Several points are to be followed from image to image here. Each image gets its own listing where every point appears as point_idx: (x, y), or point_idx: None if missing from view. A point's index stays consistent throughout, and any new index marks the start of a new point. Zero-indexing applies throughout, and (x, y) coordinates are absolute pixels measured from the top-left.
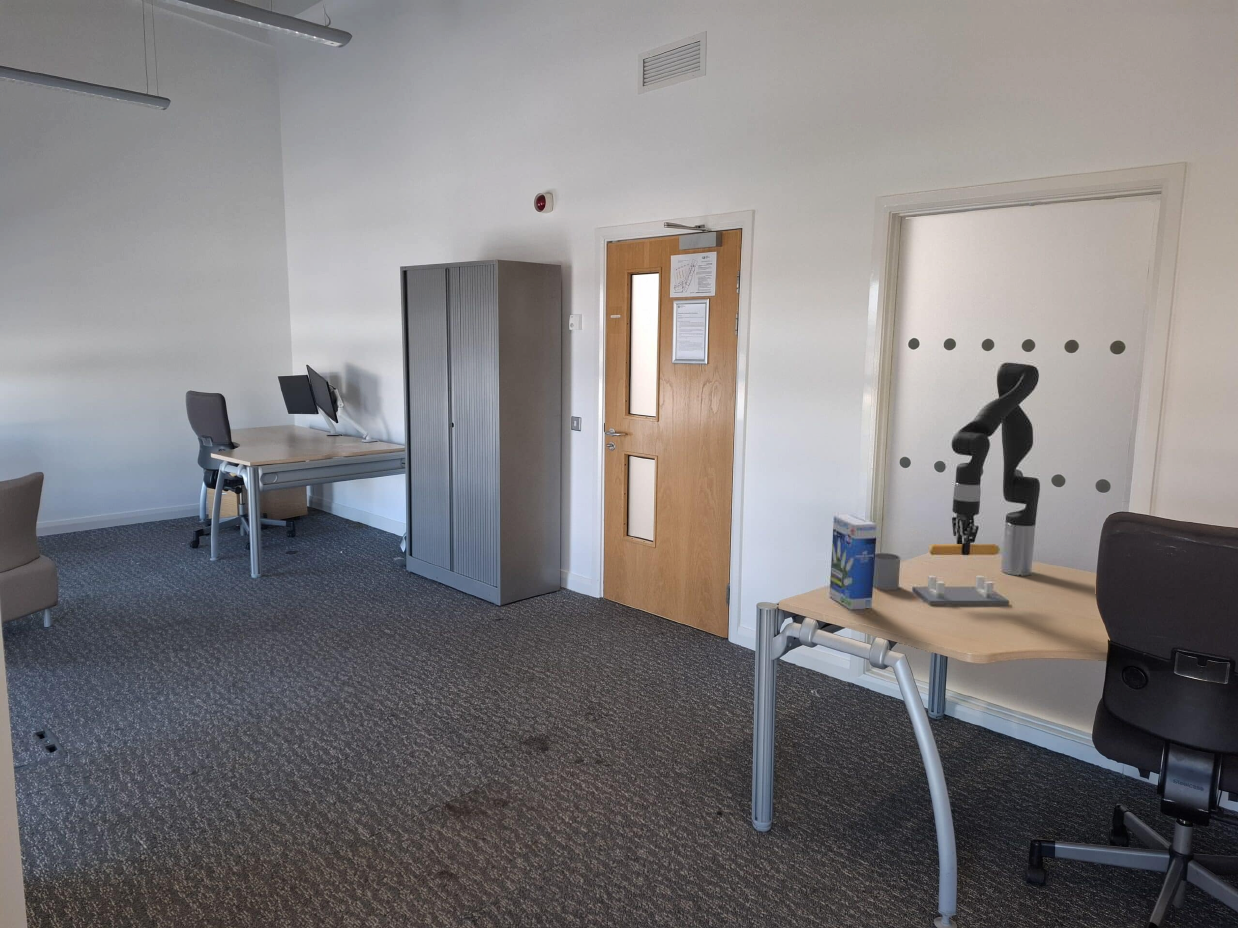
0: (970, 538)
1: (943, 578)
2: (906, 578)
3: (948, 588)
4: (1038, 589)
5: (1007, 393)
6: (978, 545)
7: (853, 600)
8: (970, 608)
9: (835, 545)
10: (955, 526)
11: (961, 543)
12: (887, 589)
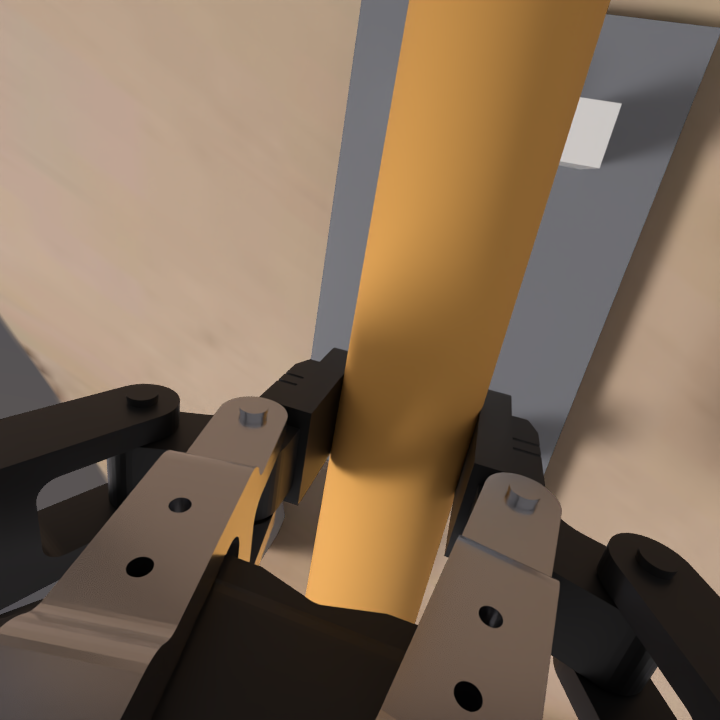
0: (545, 567)
1: (117, 139)
2: (123, 338)
3: (356, 295)
4: None
5: None
6: (476, 254)
7: None
8: (647, 348)
9: None
10: (13, 579)
11: (322, 431)
12: (280, 525)
